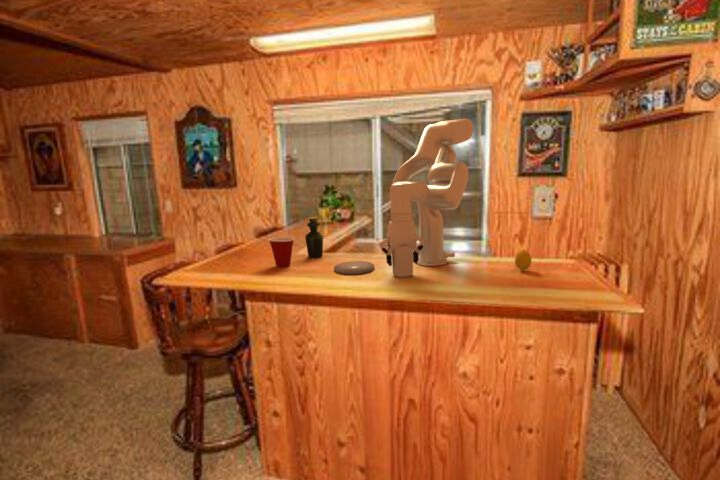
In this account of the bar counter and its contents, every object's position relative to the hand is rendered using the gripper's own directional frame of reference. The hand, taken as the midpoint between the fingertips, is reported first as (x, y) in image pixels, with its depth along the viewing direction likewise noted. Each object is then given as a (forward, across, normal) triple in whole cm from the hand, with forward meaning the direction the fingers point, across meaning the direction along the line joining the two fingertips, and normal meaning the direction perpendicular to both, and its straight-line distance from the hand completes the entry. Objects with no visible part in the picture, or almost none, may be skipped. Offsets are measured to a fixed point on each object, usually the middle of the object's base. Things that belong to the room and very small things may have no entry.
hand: (402, 264), depth 143 cm
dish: (+4, +16, -14) cm, 22 cm away
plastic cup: (+4, +44, -29) cm, 53 cm away
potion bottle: (+4, +30, -41) cm, 51 cm away
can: (+4, 0, 0) cm, 4 cm away
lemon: (+4, -43, +8) cm, 44 cm away
